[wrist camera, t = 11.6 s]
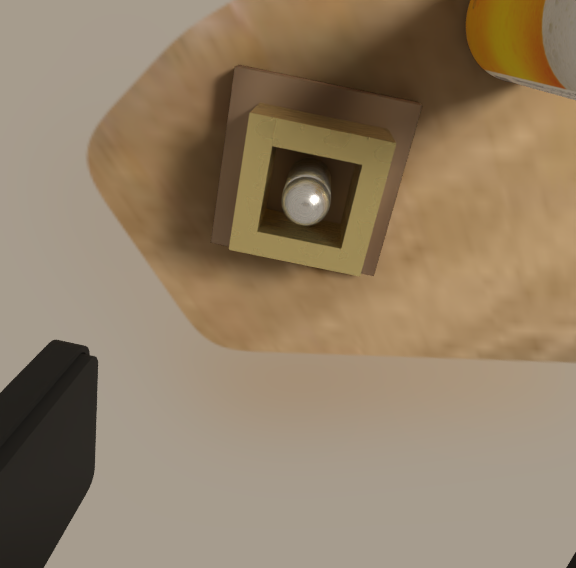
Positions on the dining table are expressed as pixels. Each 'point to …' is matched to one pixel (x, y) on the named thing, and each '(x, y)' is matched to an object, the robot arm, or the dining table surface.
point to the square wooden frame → (323, 235)
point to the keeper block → (307, 167)
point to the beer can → (526, 42)
